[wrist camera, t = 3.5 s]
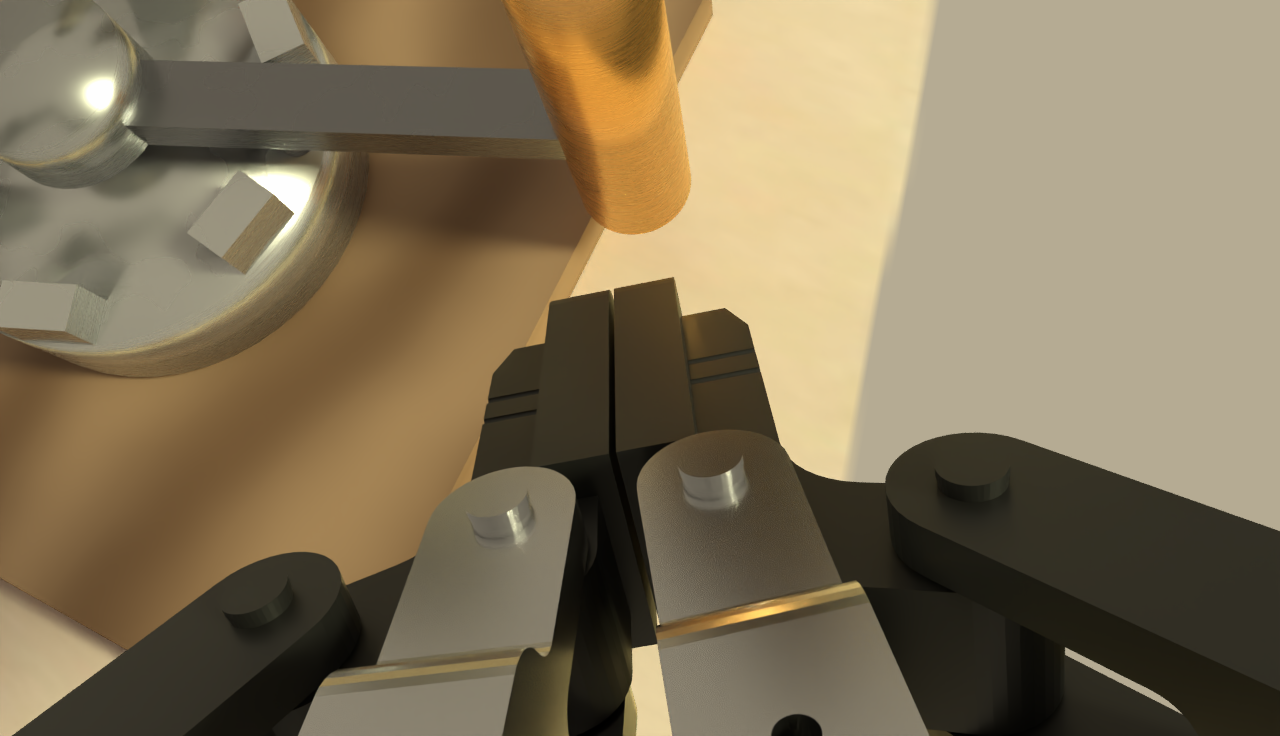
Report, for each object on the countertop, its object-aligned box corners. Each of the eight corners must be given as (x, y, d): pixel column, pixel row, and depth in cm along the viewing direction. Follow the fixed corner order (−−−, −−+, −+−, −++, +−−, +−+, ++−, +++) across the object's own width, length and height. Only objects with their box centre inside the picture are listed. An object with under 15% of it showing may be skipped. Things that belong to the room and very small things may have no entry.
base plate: (-292, 395, 32) (-349, 382, 31) (107, -194, 37) (77, -233, 35) (339, 750, 27) (312, 757, 26) (712, 14, 32) (709, -20, 30)
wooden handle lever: (-62, 363, 30) (-762, 121, 16) (39, 2, 33) (-478, -459, 19) (674, 414, 27) (583, 172, 13) (710, 13, 30) (667, -524, 16)
